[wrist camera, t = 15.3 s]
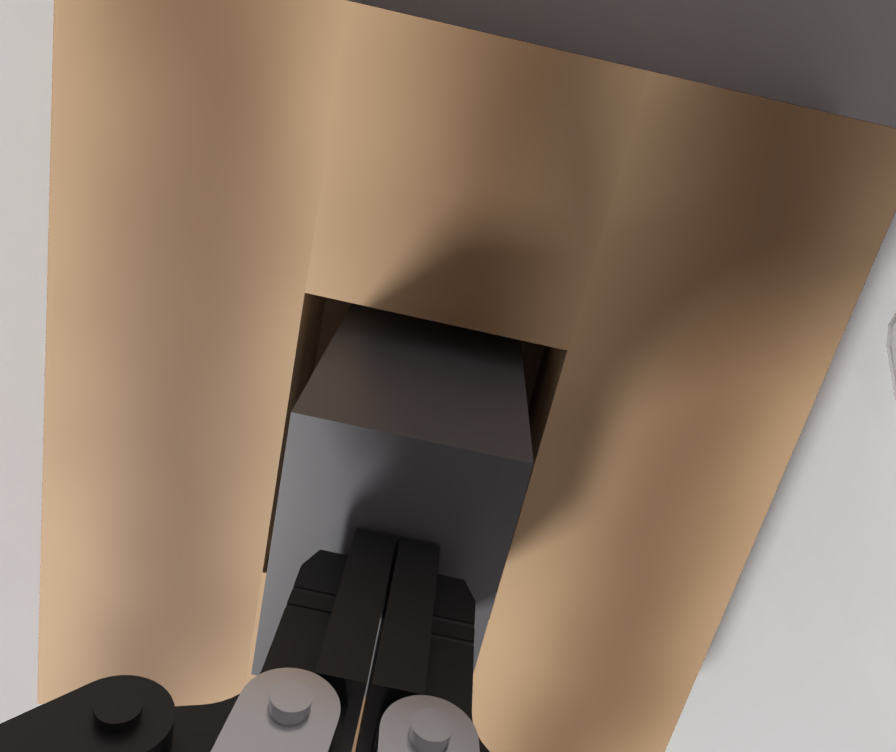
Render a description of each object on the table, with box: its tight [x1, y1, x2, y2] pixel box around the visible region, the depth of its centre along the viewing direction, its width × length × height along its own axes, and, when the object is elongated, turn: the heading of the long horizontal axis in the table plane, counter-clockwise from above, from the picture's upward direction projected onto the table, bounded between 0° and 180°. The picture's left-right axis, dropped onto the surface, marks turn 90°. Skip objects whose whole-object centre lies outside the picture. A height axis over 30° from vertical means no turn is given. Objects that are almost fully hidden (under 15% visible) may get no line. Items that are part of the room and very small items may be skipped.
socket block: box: [37, 0, 896, 752], centre depth 19 cm, size 16×18×4 cm
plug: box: [251, 303, 534, 697], centre depth 17 cm, size 4×6×7 cm
